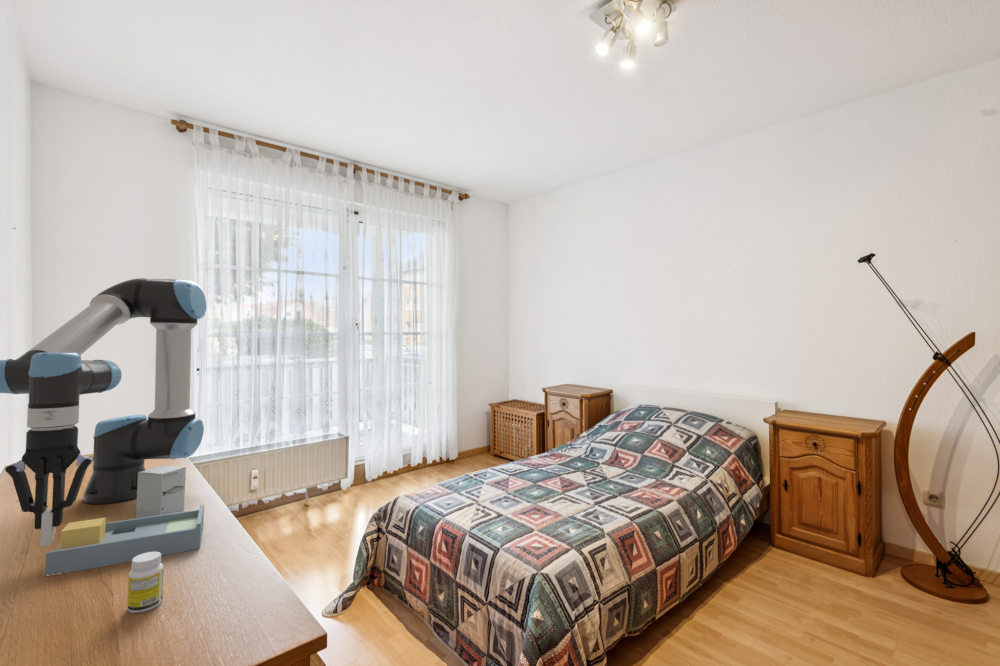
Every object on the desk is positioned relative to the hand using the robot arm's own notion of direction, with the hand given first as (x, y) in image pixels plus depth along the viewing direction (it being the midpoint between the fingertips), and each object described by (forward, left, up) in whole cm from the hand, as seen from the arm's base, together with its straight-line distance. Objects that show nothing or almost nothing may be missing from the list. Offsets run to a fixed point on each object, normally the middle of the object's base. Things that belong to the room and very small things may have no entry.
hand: (47, 543), depth 91 cm
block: (0, +5, -1) cm, 6 cm away
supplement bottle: (+28, +19, -4) cm, 34 cm away
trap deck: (0, +13, -4) cm, 14 cm away
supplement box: (-19, +16, -4) cm, 26 cm away
